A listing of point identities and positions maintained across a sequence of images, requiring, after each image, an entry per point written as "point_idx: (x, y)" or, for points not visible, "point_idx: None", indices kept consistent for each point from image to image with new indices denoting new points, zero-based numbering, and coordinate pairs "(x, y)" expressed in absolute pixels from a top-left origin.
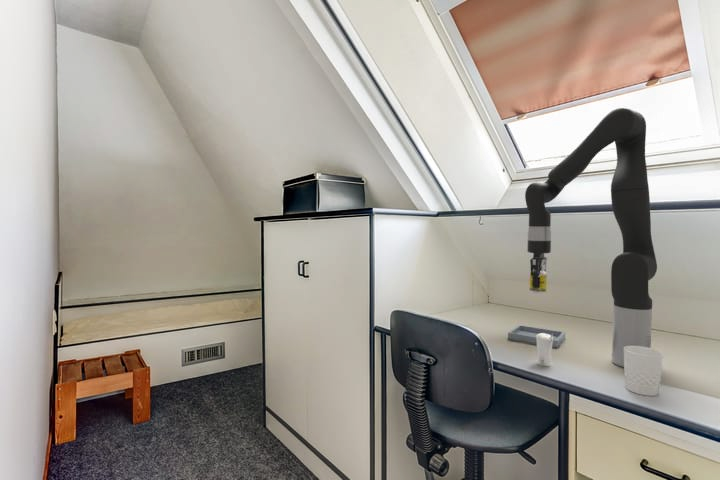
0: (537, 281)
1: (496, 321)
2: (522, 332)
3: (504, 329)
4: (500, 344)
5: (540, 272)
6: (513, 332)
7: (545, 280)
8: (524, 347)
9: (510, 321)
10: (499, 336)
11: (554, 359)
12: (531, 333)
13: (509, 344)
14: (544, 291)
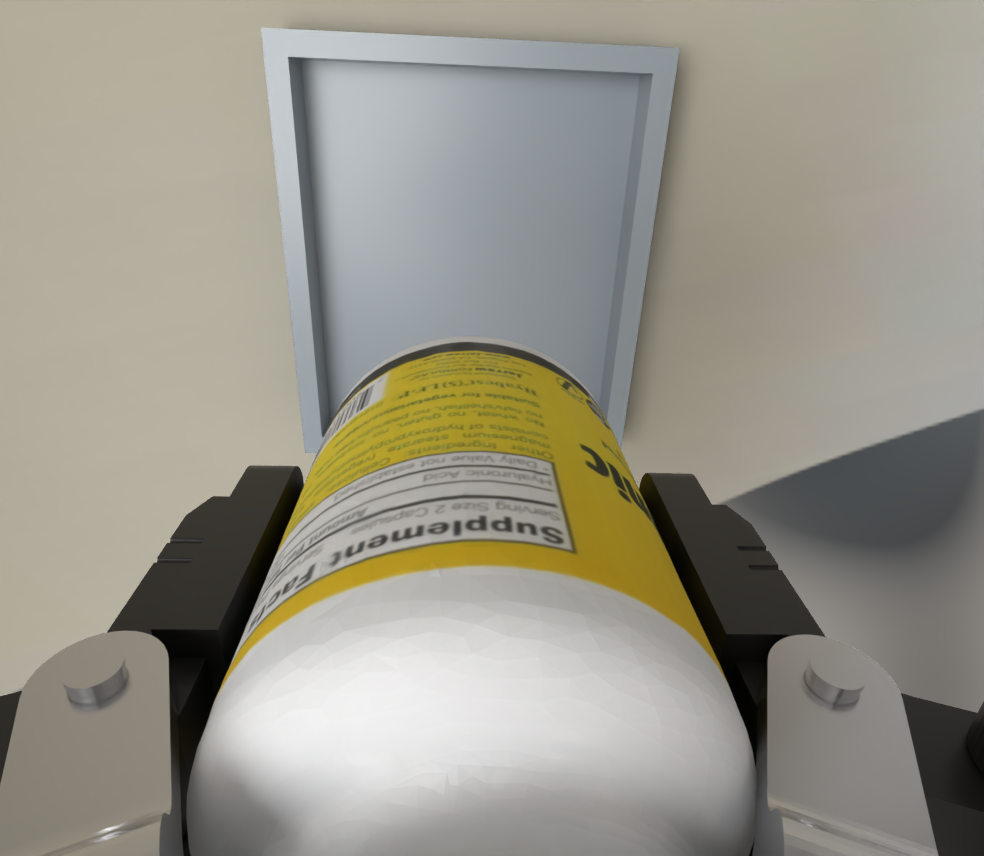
0: (790, 589)
1: None
2: None
3: None
4: (749, 443)
5: (783, 784)
6: None
7: (547, 464)
8: (748, 294)
9: (53, 543)
10: None
11: (981, 27)
12: (360, 327)
13: (721, 397)
14: (540, 356)
